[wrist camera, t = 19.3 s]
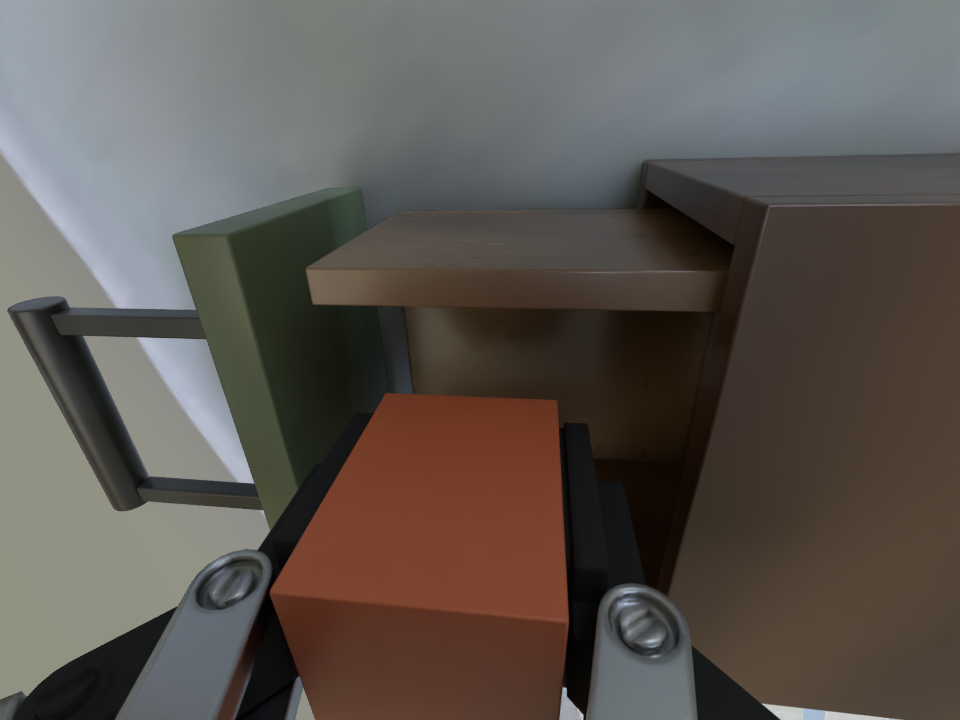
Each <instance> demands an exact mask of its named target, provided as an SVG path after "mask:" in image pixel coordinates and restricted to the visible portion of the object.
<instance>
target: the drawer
mask: <svg viewBox="0 0 960 720" xmlns="http://www.w3.org/2000/svg"><path fill="white" fill-rule="evenodd" d="M173 241H174V244H175V247H176V250H177V253H178V256H179V259H180V262H181V265H182V268H183V271H184V274H185V277H186V280H187V283H188V286H189V289H190V292H191V295H192V298H193V301H194V304H195V306H196V309H197V310H166V309H116V308H70V307H69V305H68V303H67V301H66V299H65V298H63V297H44V298H37V299H32V300H28V301H24V302H21V303H18V304H15V305H13V306H11V307H9V309H8V313H9V315H10V317H11V319H12V321H13V322H14V324H15V326H16V328H17V330H18V332H19V334H20V335H21V337H22V339H23V341H24V343H25V345H26V347H27V349H28V350H29V352H30V354H31V356H32V358H33V360H34V361H35V363H36V365H37V367H38V369H39V371H40V373H41V375H42V376H43V378H44V380H45V382H46V384H47V386H48V387H49V389H50V391H51V393H52V395H53V397H54V399H55V400H56V402H57V404H58V406H59V408H60V410H61V412H62V414H63V415H64V417H65V419H66V421H67V423H68V425H69V427H70V428H71V430H72V432H73V434H74V436H75V438H76V440H77V441H78V443H79V445H80V447H81V449H82V451H83V452H84V454H85V456H86V458H87V460H88V462H89V464H90V465H91V467H92V469H93V471H94V473H95V475H96V477H97V478H98V480H99V482H100V484H101V486H102V488H103V490H104V492H105V493H106V495H107V497H108V499H109V501H110V503H111V505H112V506H113V508H114V509H115V510H117V511H128V510H132V509H135V508H137V507H140V506H141V505H143V504H145V503H146V502H148V501H150V502H163V503H176V504H189V505H203V506H216V507H229V508H242V509H255V510H264V513H265V516H266V519H267V522H268V525H269V528H270V531H271V529H272V528H273V527H274V525H275V524H276V522H277V521H278V519H279V518H280V516H281V515H282V513H283V512H284V510H285V509H286V507H287V506H288V504H289V503H290V501H291V500H292V498H293V497H294V495H295V494H296V492H297V491H298V489H299V488H300V486H301V485H302V483H303V482H304V480H305V479H306V477H307V476H308V474H309V473H310V471H311V470H312V469H313V467H314V466H315V465H316V464H318V463H322V462H323V461H324V459H325V458H326V456H327V455H328V453H329V452H330V450H331V448H332V447H333V445H334V444H335V442H336V441H337V439H338V438H339V436H340V435H341V433H342V432H343V430H344V429H345V427H346V426H347V424H348V423H349V421H350V419H351V418H352V416H353V415H354V414H355V413H357V412H360V413H374V412H375V411H376V409H377V407H378V406H379V404H380V402H381V400H382V399H383V397H384V395H385V394H386V393H389V388H388V381H387V373H386V366H385V359H384V352H383V345H382V337H381V330H380V323H379V316H378V309H377V306H398V307H403V310H404V319H405V328H406V337H407V346H408V355H409V364H410V373H411V381H412V390H413V394H422V395H446V396H469V397H493V398H517V399H541V400H556V401H557V402H558V421H559V428H564V422H570V423H587V424H588V427H589V434H590V440H591V447H592V454H593V460H594V467H595V474H596V480H602V481H618V482H622V483H623V486H624V489H625V494H626V498H627V503H628V507H629V512H630V516H631V520H632V525H633V529H634V534H635V538H636V543H637V547H638V552H639V556H640V561H641V565H642V570H643V574H644V579H645V583H646V586H648V587H651V588H654V589H656V588H657V584H658V579H659V575H660V570H661V566H662V562H663V557H664V553H665V549H666V544H667V540H668V536H669V531H670V527H671V523H672V518H673V514H674V509H675V505H676V501H677V496H678V492H679V488H680V483H681V479H682V475H683V470H684V466H685V461H686V457H687V453H688V448H689V444H690V440H691V435H692V431H693V427H694V422H695V418H696V413H697V409H698V405H699V400H700V396H701V392H702V387H703V383H704V379H705V374H706V370H707V365H708V361H709V357H710V352H711V348H712V344H713V339H714V335H715V331H716V326H717V322H718V318H719V313H720V309H721V304H722V300H723V296H724V291H725V287H726V283H727V278H728V274H729V270H730V265H731V261H732V256H733V252H734V248H735V246H734V245H732V244H731V243H729V242H728V241H726V240H724V239H723V238H721V237H720V236H718V235H717V234H715V233H714V232H712V231H710V230H709V229H707V228H706V227H704V226H703V225H701V224H699V223H698V222H696V221H695V220H693V219H692V218H690V217H688V216H687V215H685V214H684V213H682V212H681V211H679V210H677V209H676V208H672V209H549V210H426V211H399V212H398V213H396V214H394V215H392V216H390V217H388V218H387V219H385V220H383V221H382V222H380V223H379V224H377V225H375V226H374V227H372V228H370V229H369V230H366V222H365V215H364V208H363V201H362V194H361V189H360V188H359V187H353V188H326V189H323V190H319V191H316V192H313V193H309V194H306V195H303V196H299V197H296V198H293V199H289V200H286V201H283V202H279V203H276V204H273V205H269V206H266V207H263V208H259V209H256V210H253V211H249V212H246V213H243V214H239V215H236V216H233V217H229V218H226V219H223V220H219V221H216V222H213V223H209V224H206V225H203V226H199V227H196V228H193V229H189V230H186V231H183V232H179V233H176V234H174V235H173ZM83 336H115V337H150V338H185V339H207V342H208V345H209V348H210V351H211V354H212V357H213V360H214V363H215V366H216V369H217V372H218V375H219V378H220V381H221V384H222V387H223V390H224V393H225V396H226V399H227V402H228V405H229V408H230V411H231V414H232V417H233V420H234V423H235V426H236V429H237V432H238V435H239V438H240V441H241V444H242V447H243V450H244V453H245V456H246V459H247V462H248V465H249V468H250V471H251V474H252V477H253V480H254V483H255V484H252V483H237V482H223V481H222V482H221V481H208V480H193V479H179V478H165V477H149V475H148V473H147V471H146V469H145V467H144V465H143V462H142V460H141V458H140V456H139V454H138V452H137V450H136V448H135V445H134V443H133V441H132V439H131V437H130V435H129V433H128V430H127V428H126V426H125V424H124V422H123V420H122V418H121V416H120V413H119V412H118V409H117V407H116V405H115V403H114V401H113V399H112V396H111V394H110V392H109V390H108V388H107V386H106V384H105V381H104V380H103V377H102V375H101V373H100V371H99V369H98V367H97V365H96V362H95V360H94V358H93V356H92V354H91V352H90V349H89V347H88V345H87V343H86V341H85V339H84V337H83Z"/></svg>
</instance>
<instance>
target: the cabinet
mask: <svg viewBox="0 0 960 720" xmlns="http://www.w3.org/2000/svg"><path fill="white" fill-rule="evenodd" d="M672 208H676V209H677V210H679V211H681V212H682V213H684V214H685V215H687V216H688V217H690V218H692V219H693V220H695V221H696V222H698V223H699V224H701V225H703V226H704V227H706V228H707V229H709V230H710V231H712V232H714V233H715V234H717V235H718V236H720V237H721V238H723V239H724V240H726V241H728V242H729V243H731V244H732V245H734V246H735V248H734V252H733V256H732V261H731V265H730V270H729V274H728V278H727V283H726V287H725V291H724V296H723V300H722V304H721V309H720V313H719V318H718V322H717V326H716V331H715V335H714V339H713V344H712V348H711V352H710V357H709V361H708V365H707V370H706V374H705V379H704V383H703V387H702V392H701V396H700V400H699V405H698V409H697V413H696V418H695V422H694V427H693V431H692V435H691V440H690V444H689V448H688V453H687V457H686V461H685V466H684V470H683V475H682V479H681V483H680V488H679V492H678V496H677V501H676V505H675V509H674V514H673V518H672V523H671V527H670V531H669V536H668V540H667V544H666V549H665V553H664V557H663V562H662V566H661V570H660V575H659V579H658V584H657V588H656V590H658V591H660V592H661V593H663V594H664V595H666V596H667V597H669V598H670V599H671V600H672V601H673V602H674V603H675V604H676V605H677V606H678V607H679V608H680V610H681V612H682V613H683V615H684V617H685V619H686V620H687V623H688V627H689V631H690V635H691V645H692V646H693V647H694V648H696V649H697V650H698V651H699V652H700V653H702V654H703V655H704V656H705V657H706V658H707V659H709V660H710V661H711V662H712V663H713V664H715V665H716V666H717V667H718V668H719V669H721V670H722V671H723V672H724V673H725V674H727V675H728V676H729V677H730V678H731V679H733V680H734V681H735V682H736V683H737V684H739V685H740V686H741V687H742V688H743V689H745V690H746V691H747V692H748V693H749V694H751V695H752V696H753V697H754V698H755V699H757V700H758V701H759V702H760V703H761V704H770V705H778V706H787V707H796V708H804V709H813V710H822V711H830V712H839V713H848V714H856V715H865V716H874V717H882V718H891V719H900V720H960V153H953V154H904V155H856V156H808V157H759V158H711V159H662V160H645V161H644V162H643V168H642V176H641V184H640V192H639V200H638V208H637V209H672Z"/></svg>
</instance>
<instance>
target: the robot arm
mask: <svg viewBox="0 0 960 720" xmlns="http://www.w3.org/2000/svg"><path fill="white" fill-rule="evenodd" d="M373 414H374V413H360V412H357V413H355V414H354V415H353V416H352V418H351V419H350V421H349V423H348V424H347V426H346V427H345V429H344V430H343V432H342V433H341V435H340V436H339V438H338V439H337V441H336V442H335V444H334V445H333V447H332V448H331V450H330V452H329V453H328V455H327V456H326V458H325V459H324V461H323V462H322V463H318V464H316V465H315V466H314V467H313V469H312V470H311V471H310V473H309V474H308V476H307V477H306V479H305V480H304V482H303V483H302V485H301V486H300V488H299V489H298V491H297V492H296V494H295V495H294V497H293V498H292V500H291V501H290V503H289V504H288V506H287V507H286V509H285V510H284V512H283V513H282V515H281V516H280V518H279V519H278V521H277V522H276V524H275V525H274V527H273V528H272V529H271V531H270V533H269V534H268V535H267V537H266V538H265V540H264V541H263V543H262V544H261V546H260V547H259V549H258V550H248V549H245V550H239V551H234V552H231V553H229V554H226V555H224V556H221V557H219V558H218V559H216V560H214V561H213V562H211V563H210V564H208V565H207V566H206V567H205V568H204V569H203V570H202V571H200V572H199V573H198V574H197V576H196V577H195V578H194V580H193V581H192V582H191V584H190V586H189V587H188V589H187V591H186V593H185V594H184V596H183V598H182V600H181V602H180V603H179V605H178V606H177V607H175V608H173V609H171V610H169V611H168V612H166V613H164V614H162V615H160V616H158V617H156V618H154V619H152V620H150V621H148V622H146V623H144V624H142V625H140V626H139V627H137V628H135V629H133V630H131V631H129V632H127V633H125V634H123V635H121V636H119V637H117V638H115V639H113V640H111V641H109V642H107V643H106V644H104V645H102V646H100V647H98V648H96V649H94V650H92V651H90V652H88V653H86V654H84V655H82V656H80V657H78V658H77V659H75V660H73V661H71V662H69V663H68V664H66V665H64V666H63V667H61V668H59V669H58V670H56V671H55V672H53V673H52V674H51V675H50V676H48V677H47V678H46V679H45V680H43V681H42V682H41V683H40V684H39V685H38V686H37V687H36V688H35V689H34V690H33V691H32V692H31V693H30V694H29V696H27V697H26V696H25V694H24V693H23V692H22V691H21V692H18V693H16V694H13V695H11V696H8V697H6V698H3V699H1V700H0V720H295V718H296V714H297V709H298V705H299V701H300V698H301V694H302V690H303V684H302V682H301V679H300V676H299V673H298V671H297V668H296V665H295V662H294V660H293V657H292V654H291V651H290V649H289V646H288V643H287V640H286V638H285V635H284V632H283V629H282V627H281V624H280V621H279V618H278V616H277V613H276V610H275V607H274V605H273V602H272V599H271V596H270V590H271V588H272V586H273V584H274V583H275V581H276V579H277V578H278V576H279V574H280V573H281V571H282V569H283V567H284V566H285V564H286V562H287V561H288V559H289V557H290V556H291V554H292V552H293V550H294V549H295V547H296V545H297V544H298V542H299V540H300V538H301V537H302V535H303V533H304V532H305V530H306V528H307V527H308V525H309V523H310V521H311V520H312V518H313V516H314V515H315V513H316V511H317V510H318V508H319V506H320V504H321V503H322V501H323V499H324V498H325V496H326V494H327V492H328V491H329V489H330V487H331V486H332V484H333V482H334V481H335V479H336V477H337V475H338V474H339V472H340V470H341V469H342V467H343V465H344V464H345V462H346V460H347V458H348V457H349V455H350V453H351V452H352V450H353V448H354V446H355V445H356V443H357V441H358V440H359V438H360V436H361V435H362V433H363V431H364V429H365V428H366V426H367V424H368V423H369V421H370V419H371V418H372V416H373ZM559 440H560V459H561V478H562V497H563V516H564V535H565V554H566V573H567V592H568V611H569V627H568V637H567V647H566V657H565V667H564V677H563V687H565V688H567V697H568V698H569V699H570V700H571V701H572V703H573V704H574V705H575V706H576V707H577V708H578V709H579V711H580V712H581V713H582V714H583V720H780V719H779V718H778V717H777V716H776V715H774V714H773V713H772V712H771V711H770V710H768V709H767V708H766V707H765V706H764V705H763V704H761V703H760V702H759V701H758V700H757V699H755V698H754V697H753V696H752V695H751V694H749V693H748V692H747V691H746V690H745V689H743V688H742V687H741V686H740V685H739V684H737V683H736V682H735V681H734V680H733V679H731V678H730V677H729V676H728V675H727V674H725V673H724V672H723V671H722V670H721V669H719V668H718V667H717V666H716V665H715V664H713V663H712V662H711V661H710V660H709V659H707V658H706V657H705V656H704V655H703V654H702V653H700V652H699V651H698V650H697V649H696V648H694V647H693V646H692V645H691V635H690V631H689V627H688V623H687V620H686V619H685V617H684V615H683V613H682V612H681V610H680V608H679V607H678V606H677V605H676V604H675V603H674V602H673V601H672V600H671V599H670V598H669V597H667V596H666V595H664V594H663V593H661V592H660V591H658V590H656V589H654V588H651V587H648V586H646V583H645V579H644V574H643V570H642V565H641V561H640V556H639V552H638V547H637V543H636V538H635V534H634V529H633V525H632V520H631V516H630V512H629V507H628V503H627V498H626V494H625V489H624V486H623V483H622V482H618V481H602V480H596V474H595V467H594V460H593V454H592V447H591V440H590V434H589V427H588V424H587V423H570V422H564V428H559Z"/></svg>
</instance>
